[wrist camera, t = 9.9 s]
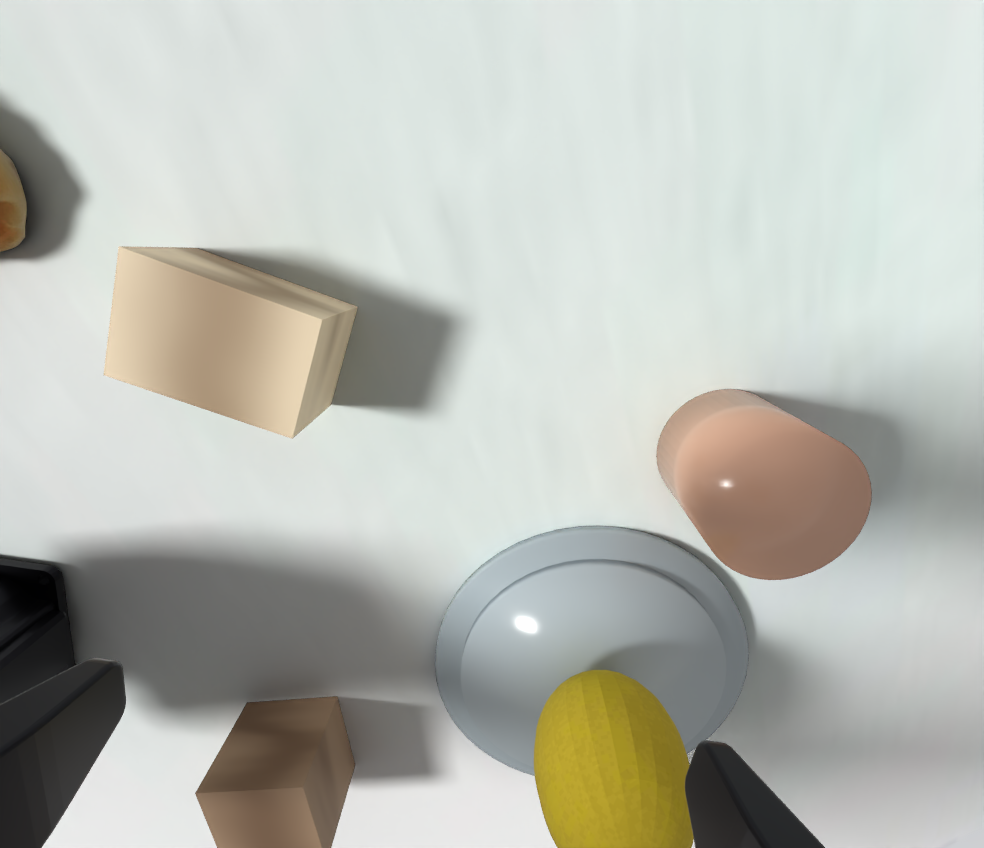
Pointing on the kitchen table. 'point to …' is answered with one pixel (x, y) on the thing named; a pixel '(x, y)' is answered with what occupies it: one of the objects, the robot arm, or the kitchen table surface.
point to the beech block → (225, 337)
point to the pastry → (11, 205)
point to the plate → (587, 635)
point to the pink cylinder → (763, 484)
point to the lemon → (611, 766)
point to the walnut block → (280, 776)
